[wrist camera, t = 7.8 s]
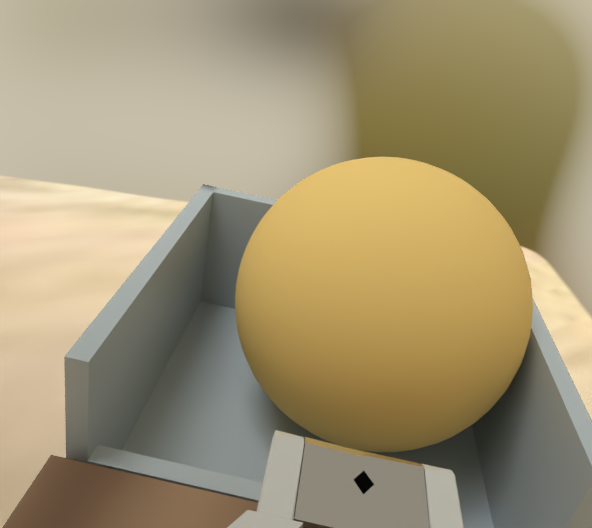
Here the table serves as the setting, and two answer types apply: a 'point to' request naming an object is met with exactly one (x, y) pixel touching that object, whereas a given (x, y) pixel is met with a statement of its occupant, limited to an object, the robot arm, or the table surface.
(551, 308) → the table surface
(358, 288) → the ball
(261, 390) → the tray
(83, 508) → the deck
